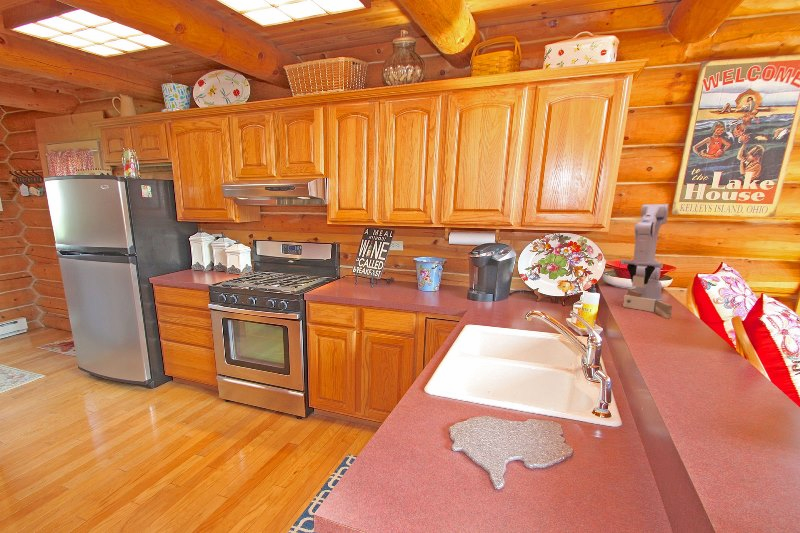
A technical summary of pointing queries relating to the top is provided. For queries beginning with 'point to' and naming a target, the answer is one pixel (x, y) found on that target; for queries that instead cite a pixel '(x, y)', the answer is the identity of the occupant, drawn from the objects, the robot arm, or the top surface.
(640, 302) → the door
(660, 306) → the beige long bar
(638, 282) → the doorstop block
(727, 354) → the top surface
